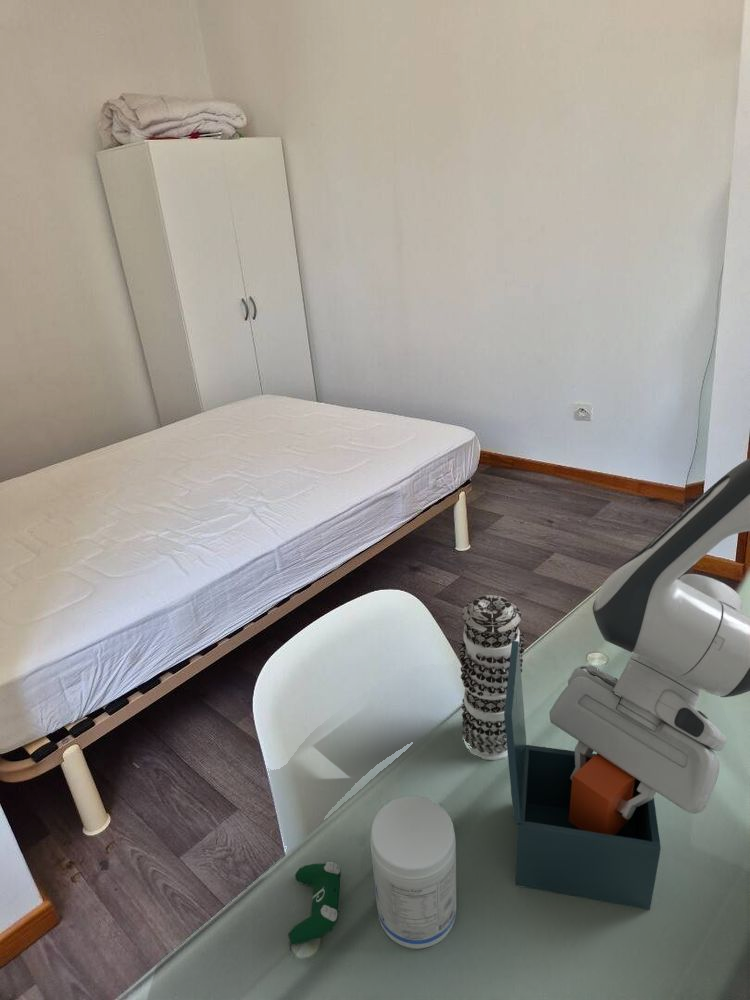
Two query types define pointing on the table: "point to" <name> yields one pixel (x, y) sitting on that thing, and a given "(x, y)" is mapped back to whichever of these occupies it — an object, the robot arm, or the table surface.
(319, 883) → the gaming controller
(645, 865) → the dark teal open box
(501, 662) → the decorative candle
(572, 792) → the block
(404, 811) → the supplement tub
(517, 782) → the lid
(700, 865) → the table surface
